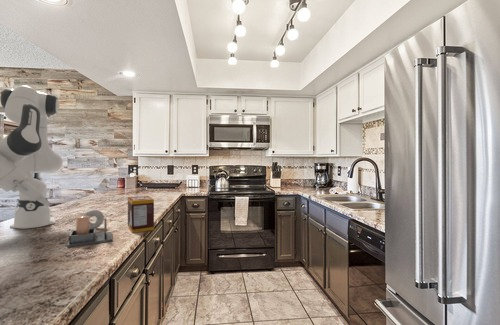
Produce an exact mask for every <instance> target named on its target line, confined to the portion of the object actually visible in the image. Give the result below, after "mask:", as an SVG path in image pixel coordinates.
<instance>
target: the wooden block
mask: <svg viewBox="0 0 500 325" xmlns="http://www.w3.org/2000/svg"><path fill="white" fill-rule="evenodd" d="M75 218H76V219H75V225H76V227H75V230H76V235H81V234H89V221H90V219H89V216H83V215H80V216H76V217H75Z"/></svg>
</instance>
